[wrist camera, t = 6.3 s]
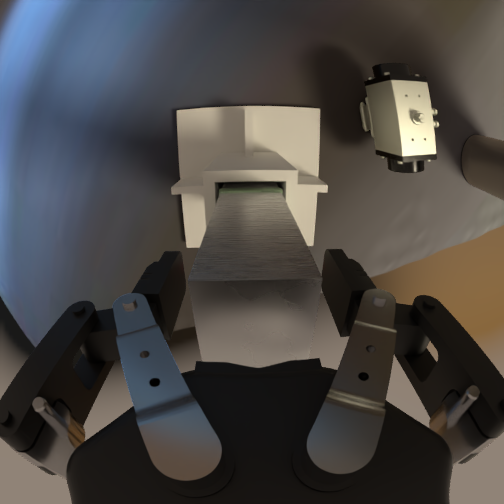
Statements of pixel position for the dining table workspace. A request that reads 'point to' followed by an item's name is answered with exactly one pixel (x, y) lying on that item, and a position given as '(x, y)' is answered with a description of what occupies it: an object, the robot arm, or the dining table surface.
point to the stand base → (248, 159)
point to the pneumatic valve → (400, 117)
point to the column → (254, 280)
